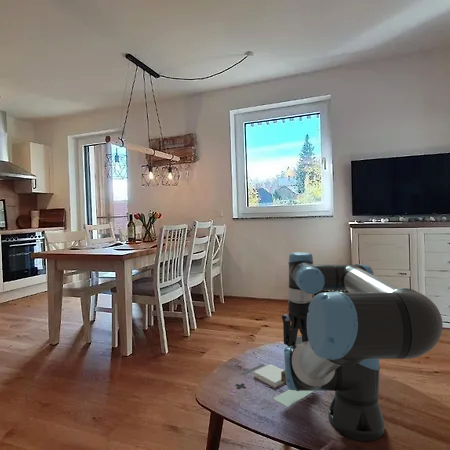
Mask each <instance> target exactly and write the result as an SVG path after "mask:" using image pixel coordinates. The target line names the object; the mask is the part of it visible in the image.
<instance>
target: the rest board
mask: <svg viewBox="0 0 450 450" xmlns="http://www.w3.org/2000/svg"><path fill="white" fill-rule="evenodd" d="M313 392H314V391H296V390H290V389H288V390H285V391H284V392H282V393H280V394H278V395H277V396H275V397H273V400H274V401H276V402H277V403H280V404H281V405H283V406H285V407H287V408H289V407H291V406H292V405H294V404H295V403H297V402H299V401H301V400H302V399H304V398H305V397H307V396H308V395H310V394H311V393H313Z"/></svg>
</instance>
